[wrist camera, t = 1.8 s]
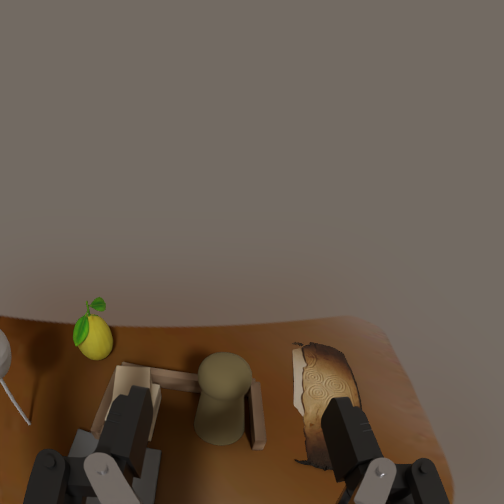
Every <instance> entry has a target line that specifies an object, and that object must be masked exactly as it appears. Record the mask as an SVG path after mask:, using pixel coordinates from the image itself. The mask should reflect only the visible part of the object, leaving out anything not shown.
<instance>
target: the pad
mask: <svg viewBox="0 0 504 504" xmlns="http://www.w3.org/2000/svg"><path fill="white" fill-rule="evenodd" d="M98 441H99V440H98V439H95V438H94V436H93V434H92V433H89V432H86V431H84V430H81V429H78V431H77V434H76V436H75V439H74V441H73V444H72V447H71V449H70V452H69V455H68V457H86V456H88V455H90V454H92V453H93V452H94V451H95V449H96V447H97V444H98ZM160 459H161V450H156V449H150V448H146V453H145V458H144V463H143V468H142V474H141V479H139V478H135V477H134V478H133V483H132V487H133V489H134V490H135V492H136V493H137V495H138V496H139V498H140V499H141V501H142V502H143V504H154V501H155V494H156V486H157V479H158V472H159V465H160ZM86 504H101V503H100V501H99V499H98V497H87V499H86Z"/></svg>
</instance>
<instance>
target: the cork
mask: <svg viewBox="0 0 504 504" xmlns="http://www.w3.org/2000/svg"><path fill="white" fill-rule="evenodd" d="M198 382H199V385H200V388H201V389H202V391H201V395H200V399H199V403H198V407H197V411H196V415H195V420H194V428H195V431H196V433H197V434H198V436H199V437H200V438H201V439H203V440H204V441H205V442H208V443H210V444H213V445H221V446H222V445H229V444H232V443H234V442H236V441H237V440H238V439H239V438H241V437H242V434H243V432H244V395H245V394H246V393H247V391H248V390H249V388H250V386H251V383H252V371H251V369H250V366H249V365H248V363H247V362H246V361H245V360H244V359H243V358H241V357H240V356H238V355H236V354H233V353H228V352H218V353H214V354H211V355H210V356H208V357H207V358H205V359H204V360H203V362H202V363H201V364H200V366H199V370H198Z"/></svg>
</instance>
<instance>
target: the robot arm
mask: <svg viewBox="0 0 504 504" xmlns="http://www.w3.org/2000/svg"><path fill="white" fill-rule="evenodd" d="M152 420H153V404H152V399H151V394H150V389H149V388H146V387H141V386H136V385H132V386H131V388H130V391H129V394H128V396H127V395H123V394H120V395H119V396H118V397H117V398H116V399H115V400H114V401H113V402H112V404H111V407H110V410H109V413H108V415H107V418H106V421H105V424H104V426H103V429H102V432H101V435H100V438H99V441H98V444H97V447H96V449H95V451H94V452H93V453H92V454H90V455H88V456H86V457H66V456H62V455H61V454H60V453H59V452H57V451H55V450H53V449H44V450H42V451H40V452H39V453H38V454H37V456H36V459H35V462H34V465H33V469H32V472H31V475H30V479H29V482H28V486H27V490H26V494H25V498H24V502H23V504H86V499H87V497H98V499H99V501H100V503H101V504H143V502H142V501H141V499H140V498H139V496H138V495H137V493H136V492H135V490H134V489H133V487H132V483H133V478H134V477H135V478H139V479H141V474H142V468H143V463H144V458H145V453H146V448H147V443H148V438H149V434H150V429H151V425H152ZM321 428H322V432H323V435H324V439H325V442H326V446H327V449H328V453H329V457H330V460H331V464H332V467H333V471H334V475H335V478H336V482H342V481H345V483H346V486H345V487H344V489H343V491H342V493H341V495H340V496H339V498H338V500H337V502H336V504H450V503H449V500H448V498H447V495H446V492H445V490H444V487H443V485H442V482H441V479H440V477H439V474H438V472H437V470H436V467H435V465H434V463H433V462H432V461H431V460H429V459H426V458H420V459H418V460H416V461H415V462H414V463H413V464H394V463H393V462H392V461H391V460H389V459H387V458H384V456H383V455H382V453H381V450H380V448H379V445H378V443H377V441H376V438H375V436H374V433H373V431H372V430H371V426H370V424H369V422H368V419H367V417H366V415H365V413H364V412H363V411H362V410H361V409H360V408H359V407H358V406H354V407H353V405H352V402H351V400H350V398H349V397H336V398H332V399H331V400H330V402H329V404H328V406H327V407H326V409H325V411H324V413H323V415H322V417H321Z"/></svg>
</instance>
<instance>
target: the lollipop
mask: <svg viewBox="0 0 504 504" xmlns="http://www.w3.org/2000/svg"><path fill="white" fill-rule="evenodd" d="M10 364H11V350H10V345H9V342H8V340H7V338H6V336H5V334H4V333H3V332H2V331H1V329H0V382H1V384H2V385H3V387H4V389H5V390H6V392H7V394H8V395H9V397H10V399H11V400H12V402H13V403H14V405H15V406H16V408H17V409H18V411H19V412H20V414H21V415H22V417H23V418H24V419H25V421H26V422H27V423H28V425H31V423H30V421H29V420H28V418H27V417H26V416H25V414H24V413H23V411H22V410H21V408H20V407H19V405H18V404H17V402H16V401H15V399H14V397H13V396H12V394H11V392H10V391H9V389H8V387H7V386H6V384H5V382H4V380H3V379H2V378H3V377H4V376H5V375H6V374H7V372H8V370H9V367H10Z"/></svg>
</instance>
